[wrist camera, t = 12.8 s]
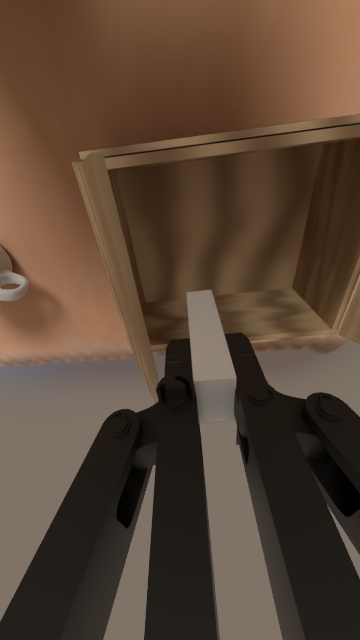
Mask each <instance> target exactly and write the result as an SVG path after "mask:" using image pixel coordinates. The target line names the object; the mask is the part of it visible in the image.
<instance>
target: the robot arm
mask: <svg viewBox="0 0 360 640" xmlns="http://www.w3.org/2000/svg"><path fill="white" fill-rule="evenodd" d="M186 294H187V307H188V319H189V332H190V338H185V339H175V340H170V342H169V344H168V345H167V347H166V360H165V377H164V378H162V379H161V381H160V382H159V383H158V384H157V388H156V393H157V396H158V400H159V401H158V402H157V403H156V404H154V405H153V406H151V407H149V408H147V409H145V410H143V411H140V412H137V413H135V412H134V411H132V410H129V409H121V410H118V411H116V412H114V413H112V414H111V415H110V416H109V417H108V418H107V419H106V420H105V422H104V423H103V425H102V427H101V429H100V431H99V432H98V434H97V436H96V438H95V440H94V442H93V444H92V446H91V448H90V450H89V452H88V454H87V456H86V458H85V459H84V461H83V464H82V465H81V467H80V469H79V471H78V473H77V475H76V477H75V479H74V481H73V483H72V484H71V486H70V488H69V491H68V492H67V494H66V496H65V498H64V500H63V502H62V504H61V506H60V508H59V510H58V511H57V514H56V515H55V517H54V519H53V521H52V523H51V525H50V527H49V529H48V531H47V533H46V535H45V537H44V539H43V540H42V542H41V544H40V546H39V548H38V550H37V552H36V554H35V556H34V558H33V560H32V562H31V564H30V566H29V567H28V569H27V571H26V573H25V575H24V577H23V579H22V581H21V583H20V585H19V587H18V589H17V590H16V593H15V594H14V597H13V598H12V600H11V602H10V604H9V606H8V608H7V610H6V612H5V614H4V616H3V617H2V620H1V621H0V640H103V638H104V634H105V631H106V627H107V623H108V620H109V617H110V613H111V610H112V607H113V603H114V599H115V596H116V593H117V589H118V586H119V582H120V579H121V575H122V572H123V568H124V565H125V561H126V558H127V554H128V551H129V547H130V543H131V540H132V537H133V533H134V530H135V526H136V523H137V519H138V516H139V512H140V509H141V505H142V502H143V498H144V495H145V491H146V488H147V484H148V480H149V477H150V474H151V470H152V467H153V465H156V470H155V486H154V501H153V516H152V530H151V545H150V560H149V576H148V590H147V605H146V620H145V635H144V640H220V638H219V628H218V617H217V606H216V596H215V584H214V574H213V563H212V552H211V542H210V530H209V519H208V509H207V499H206V487H205V476H204V467H203V456H202V445H201V435H200V425H199V423H209V422H222V421H234V419H236V423H237V438H236V442H237V445H238V444H239V446H240V450H241V455H242V459H243V463H244V468H245V472H246V477H247V481H248V486H249V490H250V495H251V499H252V504H253V508H254V513H255V517H256V522H257V526H258V531H259V535H260V540H261V544H262V549H263V553H264V557H265V562H266V566H267V570H268V575H269V580H270V584H271V589H272V593H273V598H274V602H275V607H276V611H277V616H278V620H279V625H280V629H281V633H282V638H283V640H360V579H359V576H358V574H357V572H356V570H355V567H354V565H353V563H352V561H351V558H350V556H349V554H348V552H347V549H346V547H345V545H344V542H343V540H342V538H341V536H340V533H339V531H338V529H337V527H336V524H335V522H334V520H333V518H332V515H331V513H330V511H329V509H328V507H329V508H330V510H331V511H332V513H333V514H334V516H335V517H336V519H337V520H338V522H339V524H340V525H341V526H342V528H343V530H344V531H345V533H346V534H347V536H348V537H349V539H350V540H351V542H352V543H353V545H354V546H355V548H356V550H357V551H358V553H359V554H360V417H359V416H358V415H357V414H356V413H355V412H354V411H353V410H352V409H351V408H350V407H349V406H348V405H347V404H346V403H344V402H343V401H342V400H340V399H339V398H337V397H335V396H333V395H331V394H327V393H321V392H320V393H313V394H311V395H310V396H308V397H307V399H301V398H296V397H291V396H287V395H284V394H281V393H279V392H277V391H276V390H274V388H272V387H271V386H270V385H269V384H268V382H267V381H266V379H265V377H264V374H263V372H262V369H261V367H260V365H259V362H258V360H257V357H256V355H255V353H254V350H253V348H252V345H251V343H250V341H249V339H248V338H247V337H246V336H245V335H244V334H243V333H242V332H239V333H229V334H224V332H223V328H222V325H221V321H220V318H219V314H218V311H217V307H216V304H215V300H214V297H213V293H212V290H204V291H195V292H186ZM327 505H328V507H327Z"/></svg>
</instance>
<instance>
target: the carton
mask: <svg viewBox="0 0 360 640" xmlns="http://www.w3.org/2000/svg"><path fill="white" fill-rule="evenodd" d="M97 152H103V154H104V158H105V162H106V166H107V171H108V175H109V179H110V183H111V187H112V191H113V195H114V199H115V203H116V207H117V211H118V215H119V220H120V224H121V228H122V232H123V236H124V240H125V244H126V248H127V252H128V256H129V260H130V264H131V268H132V273H133V277H134V281H135V285H136V289H137V293H138V297H139V301H140V305H141V309H142V313H143V317H144V322H145V326H146V330H147V334H148V338H149V342H150V346H151V350H152V352H153V351H165V350H166V347H167V345H168V344H169V342H170V340H175V339H185V338H190V332H189V319H188V307H187V294H186V292H195V291H204V290H212V293H213V297H214V300H215V304H216V307H217V311H218V314H219V318H220V321H221V325H222V328H223V332H224V334H229V333H239V332H242V333H243V334H244V335H245V336H246V337H247V338H248V339H249V341H250V343H257V342H269V341H280V340H292V339H303V338H315V337H326V336H328V334H335V333H336V332H337V330H338V327H339V325H340V322H341V320H342V317H343V314H344V312H345V309H346V307H347V304H348V302H349V299H350V297H351V294H352V292H353V289H354V287H355V284H356V282H357V279H358V277H359V274H360V114H357V115H349V116H342V117H335V118H327V119H320V120H312V121H305V122H298V123H290V124H283V125H275V126H268V127H261V128H253V129H246V130H238V131H231V132H223V133H216V134H209V135H201V136H194V137H186V138H179V139H172V140H164V141H157V142H149V143H142V144H135V145H127V146H120V147H112V148H105V149H98V150H90V151H83V152H79V156H80V159H81V160H84V159H85V158H86V157H87V156H88V155H89V154H90V153H97ZM80 162H82V161H80ZM80 162H72V166H73V169H74V173H75V176H76V179H77V182H78V185H79V188H80V191H81V195H82V198H83V201H84V204H85V207H86V210H87V213H88V216H89V220H90V223H91V226H92V229H93V232H94V235H95V238H96V242H97V245H98V248H99V251H100V254H101V257H102V260H103V264H104V267H105V270H106V273H107V276H108V279H109V282H110V285H111V289H112V292H113V295H114V298H115V301H116V304H117V307H118V311H119V314H120V317H121V320H122V323H123V326H124V329H125V325H124V322H123V319H122V316H121V313H120V310H119V306H118V303H117V300H116V297H115V294H114V291H113V287H112V284H111V281H110V278H109V275H108V271H107V268H106V265H105V262H104V259H103V256H102V252H101V249H100V246H99V243H98V240H97V236H96V233H95V230H94V227H93V224H92V221H91V217H90V214H89V211H88V208H87V205H86V202H85V198H84V195H83V192H82V189H81V186H80V182H79V179H78V176H77V173H76V170H75V167H76V166H77V165H78V164H79V163H80ZM125 333H126V336H127V339H128V342H129V345H130V341H129V338H128V335H127V332H126V329H125ZM130 348H131V345H130ZM131 351H132V348H131Z"/></svg>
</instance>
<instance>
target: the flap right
mask: <svg viewBox="0 0 360 640" xmlns="http://www.w3.org/2000/svg"><path fill="white" fill-rule="evenodd" d="M338 335H340V336H343V337H345V338H347V339H350V340H352V341H355V342H357V343H359V344H360V282H359V284H358V287H357V289H356V292H355V294H354V297H353V299H352V302H351V304H350V307H349V309H348V311H347V314H346V316H345V319H344V321H343V324H342V326H341V329H340V331H339V334H338Z"/></svg>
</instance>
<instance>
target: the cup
mask: <svg viewBox="0 0 360 640" xmlns="http://www.w3.org/2000/svg"><path fill="white" fill-rule="evenodd" d="M6 284H18V285H20V286H19V287H18V288H15V289H9V290H7V289H1V288H0V301H16V300H18V299H20V298H22V297H24V296H25V295H26V294H27V292H28V291H29V285H30V284H29V281H28V279H27V278H26V277H24V276H22V275H19V274H16V273H13V272H12V262H11V259H10V257H9V255H8V254H7V252H6V251H5V250H4V249H3V248H2V247H1V246H0V287H2V286H3V285H6Z"/></svg>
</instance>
